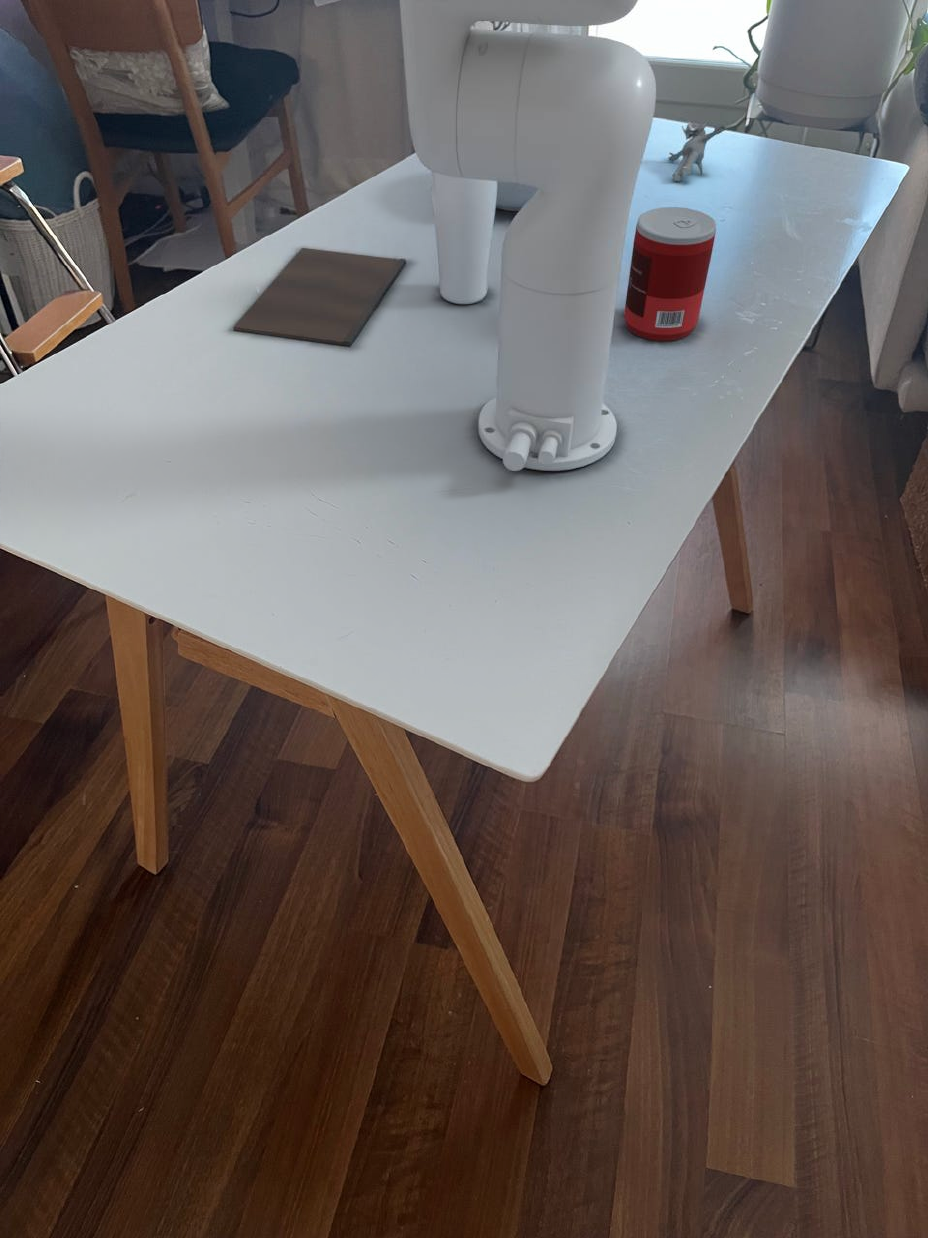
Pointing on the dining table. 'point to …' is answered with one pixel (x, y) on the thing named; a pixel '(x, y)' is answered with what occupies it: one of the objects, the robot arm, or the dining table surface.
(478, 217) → the drinking glass
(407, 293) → the dining table surface
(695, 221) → the canned food
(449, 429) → the dining table surface
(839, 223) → the dining table surface
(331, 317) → the desk mat
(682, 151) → the grey creature figurine
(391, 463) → the dining table surface
